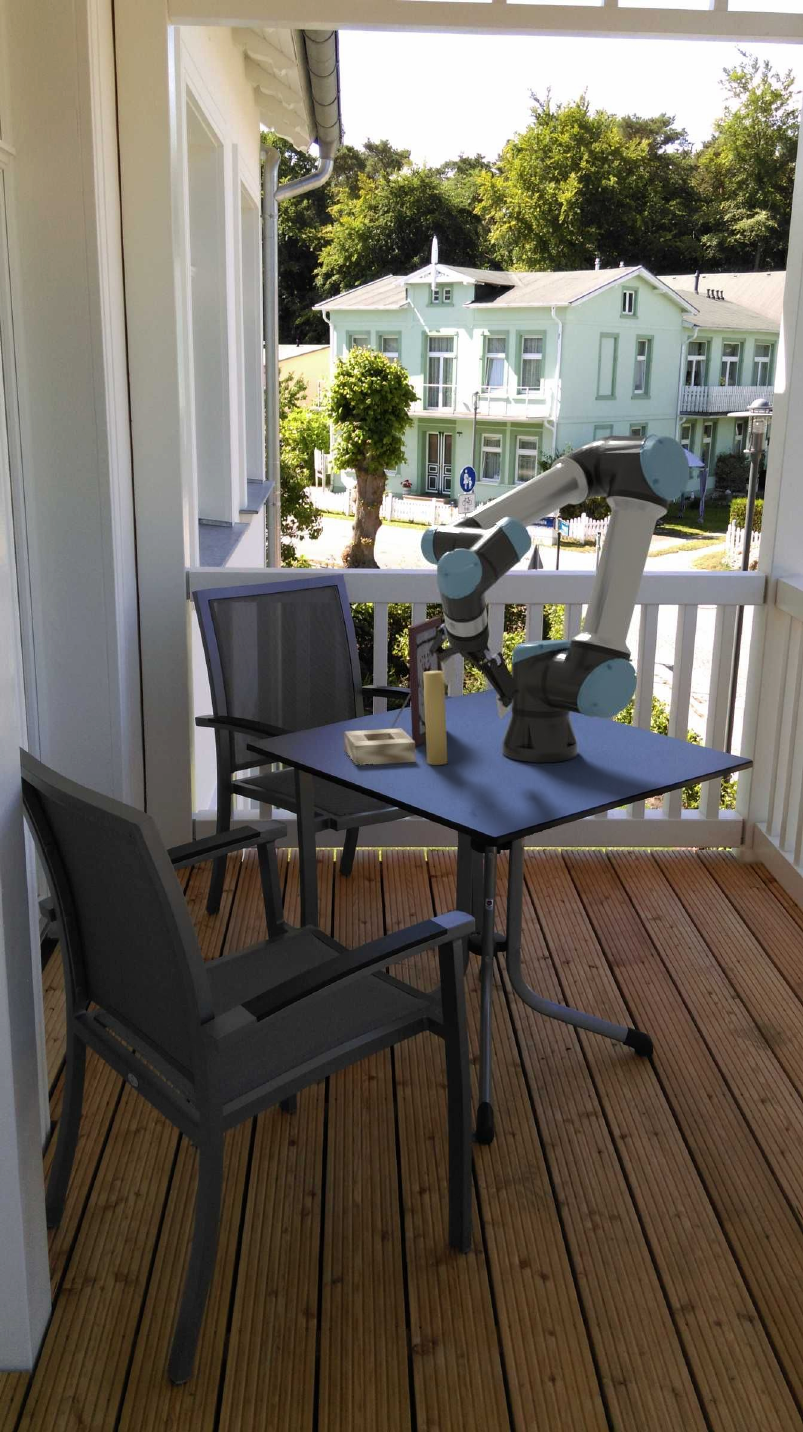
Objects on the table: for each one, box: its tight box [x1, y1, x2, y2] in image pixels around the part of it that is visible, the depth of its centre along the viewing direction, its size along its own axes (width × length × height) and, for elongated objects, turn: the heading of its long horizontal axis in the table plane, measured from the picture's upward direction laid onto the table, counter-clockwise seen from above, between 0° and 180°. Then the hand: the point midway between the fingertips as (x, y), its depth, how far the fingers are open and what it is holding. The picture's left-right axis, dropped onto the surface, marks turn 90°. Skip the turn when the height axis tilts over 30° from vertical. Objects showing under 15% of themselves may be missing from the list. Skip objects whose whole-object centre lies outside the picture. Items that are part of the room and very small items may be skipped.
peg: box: [423, 671, 448, 766], centre depth 227 cm, size 4×4×18 cm
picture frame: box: [390, 616, 442, 748], centre depth 248 cm, size 17×10×25 cm, turn 158°
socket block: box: [344, 727, 416, 766], centre depth 234 cm, size 12×12×4 cm
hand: (477, 696), depth 223 cm, fingers open, 13 cm apart
